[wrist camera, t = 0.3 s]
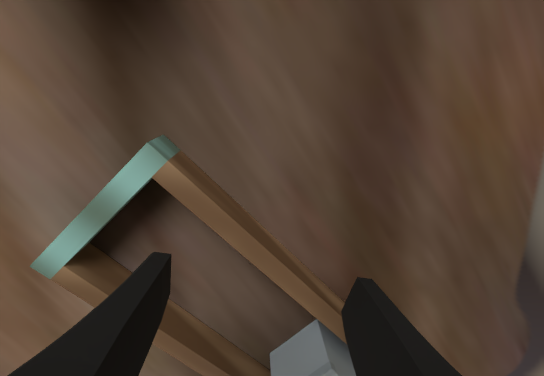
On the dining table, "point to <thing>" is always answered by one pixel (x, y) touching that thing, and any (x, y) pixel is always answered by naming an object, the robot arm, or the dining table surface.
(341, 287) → the dining table surface
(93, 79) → the dining table surface
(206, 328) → the bay
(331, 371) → the box
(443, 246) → the dining table surface
